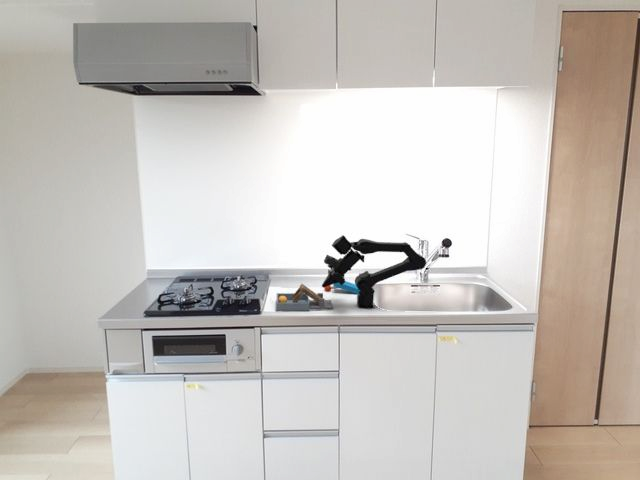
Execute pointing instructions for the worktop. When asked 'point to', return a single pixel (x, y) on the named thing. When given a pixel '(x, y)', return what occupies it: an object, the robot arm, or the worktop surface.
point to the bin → (292, 303)
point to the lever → (344, 287)
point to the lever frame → (321, 304)
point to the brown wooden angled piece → (307, 291)
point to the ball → (282, 299)
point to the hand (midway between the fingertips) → (322, 286)
